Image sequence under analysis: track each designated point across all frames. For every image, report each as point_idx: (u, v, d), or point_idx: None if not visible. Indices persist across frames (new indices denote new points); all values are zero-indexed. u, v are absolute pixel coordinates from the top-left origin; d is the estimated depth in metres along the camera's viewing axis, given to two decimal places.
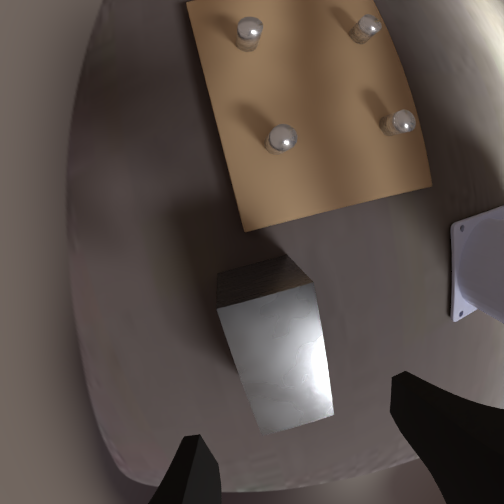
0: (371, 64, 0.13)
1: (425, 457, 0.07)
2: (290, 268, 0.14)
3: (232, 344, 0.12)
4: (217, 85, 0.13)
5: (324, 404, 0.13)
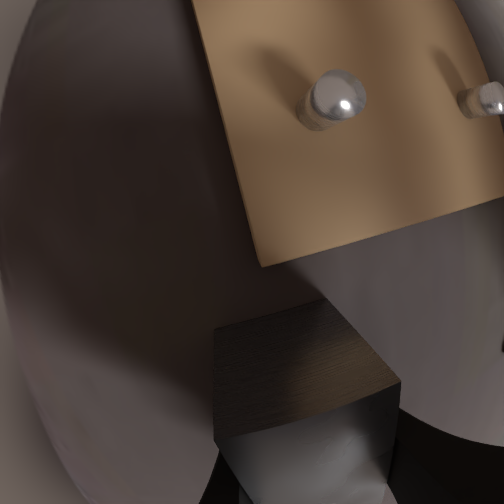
0: (437, 20, 0.07)
1: None
2: (343, 336, 0.07)
3: (244, 478, 0.05)
4: (215, 19, 0.07)
5: None
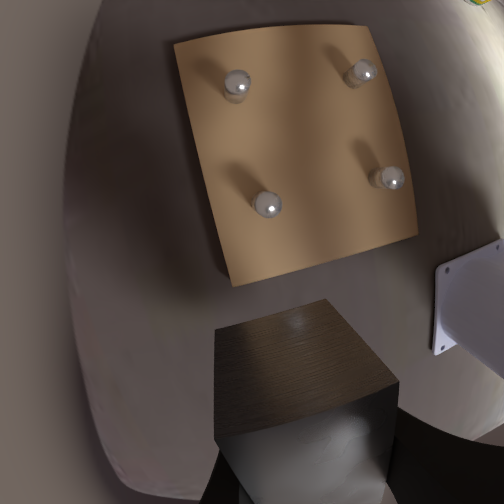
0: (364, 111, 0.14)
1: (387, 477, 0.07)
2: (342, 336, 0.07)
3: (244, 477, 0.05)
4: (205, 142, 0.14)
5: None
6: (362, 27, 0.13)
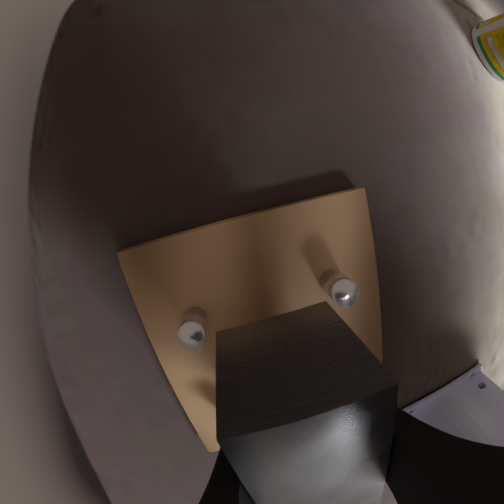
0: (340, 315, 0.14)
1: (387, 477, 0.07)
2: (342, 339, 0.07)
3: (246, 477, 0.05)
4: (170, 364, 0.14)
5: None
6: (357, 188, 0.13)
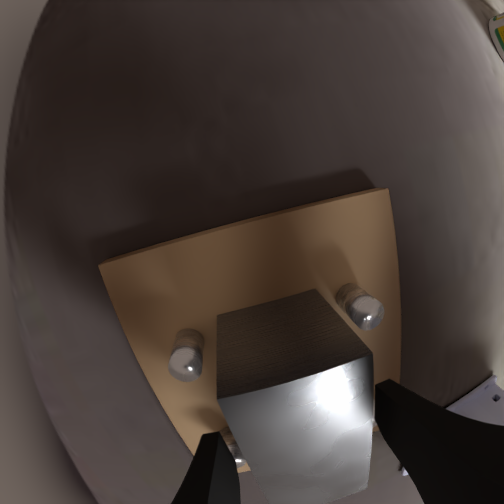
0: None
1: (408, 466, 0.07)
2: (327, 318, 0.09)
3: (241, 440, 0.07)
4: (163, 390, 0.12)
5: (358, 482, 0.08)
6: (380, 189, 0.11)
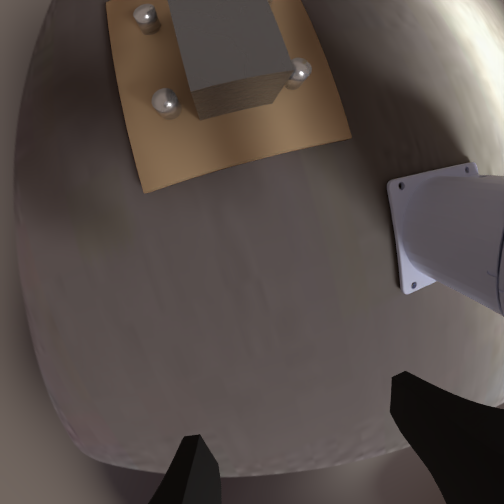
0: None
1: (425, 457, 0.07)
2: None
3: None
4: (123, 67, 0.13)
5: (275, 49, 0.09)
6: None
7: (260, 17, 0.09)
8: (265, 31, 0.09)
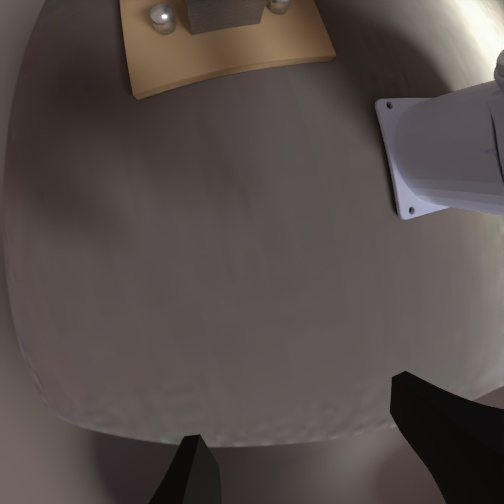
0: None
1: (425, 457, 0.07)
2: None
3: None
4: None
5: None
6: None
7: None
8: None
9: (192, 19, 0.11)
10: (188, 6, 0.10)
